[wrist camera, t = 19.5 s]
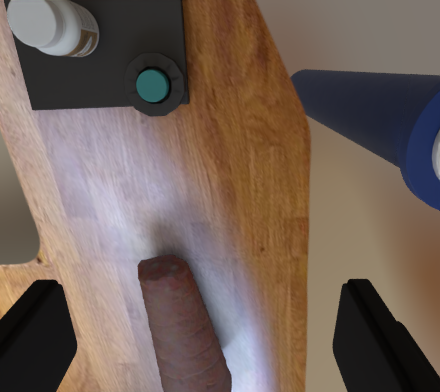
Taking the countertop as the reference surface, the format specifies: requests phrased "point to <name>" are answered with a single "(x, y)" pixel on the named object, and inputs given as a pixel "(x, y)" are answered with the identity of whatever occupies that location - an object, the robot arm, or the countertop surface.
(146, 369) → the countertop surface
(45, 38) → the pill bottle
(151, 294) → the food
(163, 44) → the scale
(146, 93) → the button
